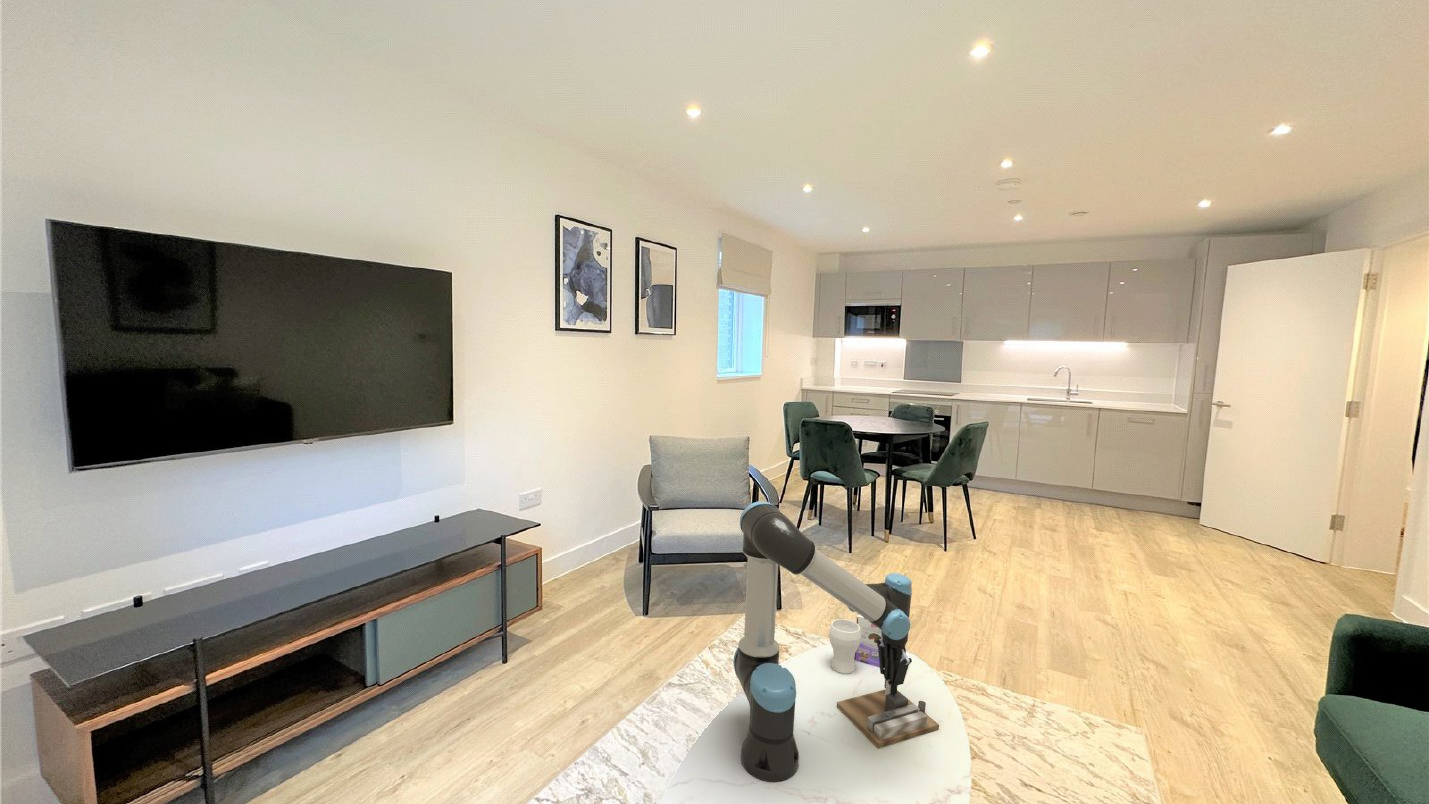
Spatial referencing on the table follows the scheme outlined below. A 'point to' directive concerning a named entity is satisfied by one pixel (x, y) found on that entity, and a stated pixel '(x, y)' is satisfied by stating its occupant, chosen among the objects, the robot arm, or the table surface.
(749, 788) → the table surface
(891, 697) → the dark grey block
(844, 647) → the cup
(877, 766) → the table surface
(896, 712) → the bar
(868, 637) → the candy box
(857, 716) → the board
